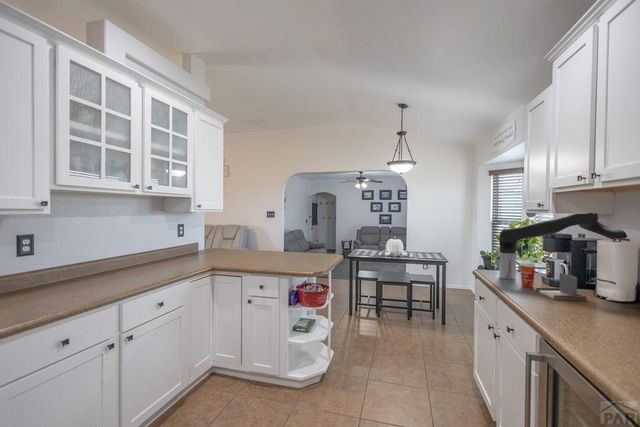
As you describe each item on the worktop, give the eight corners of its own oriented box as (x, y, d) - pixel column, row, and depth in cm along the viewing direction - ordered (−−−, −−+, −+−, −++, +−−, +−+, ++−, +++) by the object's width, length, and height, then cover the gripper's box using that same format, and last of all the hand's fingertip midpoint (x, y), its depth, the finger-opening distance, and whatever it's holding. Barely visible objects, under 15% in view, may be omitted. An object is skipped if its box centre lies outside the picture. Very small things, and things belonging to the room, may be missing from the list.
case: (536, 291, 173) (536, 287, 173) (564, 291, 172) (564, 288, 171) (555, 299, 157) (555, 295, 157) (586, 300, 156) (586, 296, 156)
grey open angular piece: (539, 292, 171) (539, 272, 171) (562, 292, 170) (562, 272, 169) (553, 298, 159) (553, 277, 159) (578, 299, 158) (578, 277, 158)
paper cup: (516, 285, 185) (517, 262, 184) (524, 284, 188) (525, 261, 188) (530, 288, 178) (530, 264, 177) (538, 287, 181) (538, 263, 180)
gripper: (607, 242, 168) (573, 242, 169) (630, 246, 154) (593, 245, 156) (607, 256, 168) (573, 256, 170) (630, 260, 154) (593, 260, 156)
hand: (583, 251), depth 163 cm, fingers closed
